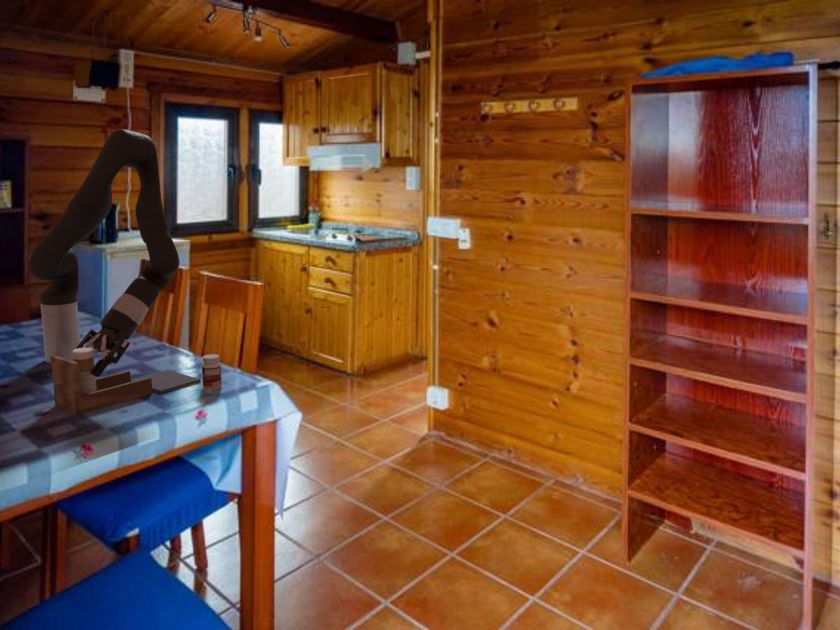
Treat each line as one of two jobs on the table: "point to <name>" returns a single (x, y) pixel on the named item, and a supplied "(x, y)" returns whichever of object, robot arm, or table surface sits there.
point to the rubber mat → (169, 381)
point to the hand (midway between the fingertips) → (83, 372)
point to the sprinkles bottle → (85, 369)
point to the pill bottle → (211, 372)
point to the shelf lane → (107, 387)
